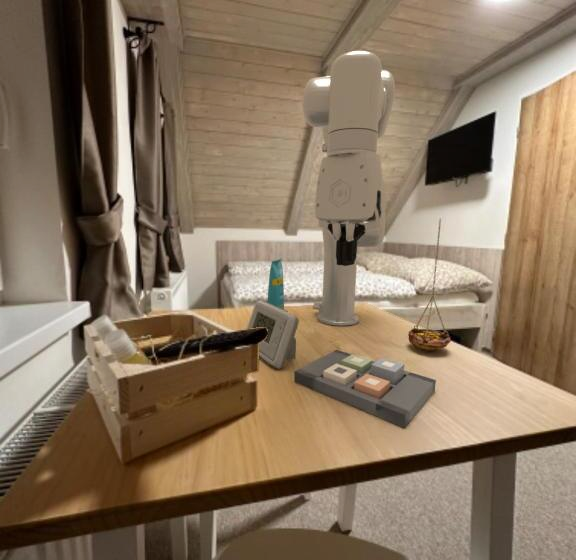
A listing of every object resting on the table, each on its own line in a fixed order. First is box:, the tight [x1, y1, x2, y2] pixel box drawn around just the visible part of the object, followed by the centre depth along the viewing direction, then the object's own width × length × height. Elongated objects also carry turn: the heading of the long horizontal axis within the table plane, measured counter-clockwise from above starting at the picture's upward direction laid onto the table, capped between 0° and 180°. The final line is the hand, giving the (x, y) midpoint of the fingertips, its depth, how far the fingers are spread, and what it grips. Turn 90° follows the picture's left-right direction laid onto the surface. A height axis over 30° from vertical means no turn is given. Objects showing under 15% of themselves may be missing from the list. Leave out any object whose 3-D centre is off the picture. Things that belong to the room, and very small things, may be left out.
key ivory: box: [323, 363, 357, 386], centre depth 56 cm, size 4×4×3 cm
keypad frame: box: [293, 349, 437, 429], centre depth 56 cm, size 20×14×2 cm
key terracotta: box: [354, 374, 390, 400], centre depth 52 cm, size 4×4×3 cm
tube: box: [266, 258, 285, 310], centre depth 83 cm, size 7×5×19 cm, turn 169°
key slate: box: [371, 357, 405, 385], centre depth 56 cm, size 4×4×3 cm
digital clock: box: [246, 300, 300, 370], centre depth 68 cm, size 16×9×11 cm, turn 21°
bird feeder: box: [407, 218, 451, 351], centre depth 72 cm, size 9×9×30 cm
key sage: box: [341, 353, 373, 374], centre depth 60 cm, size 4×4×3 cm
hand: (345, 264), depth 53 cm, fingers closed
